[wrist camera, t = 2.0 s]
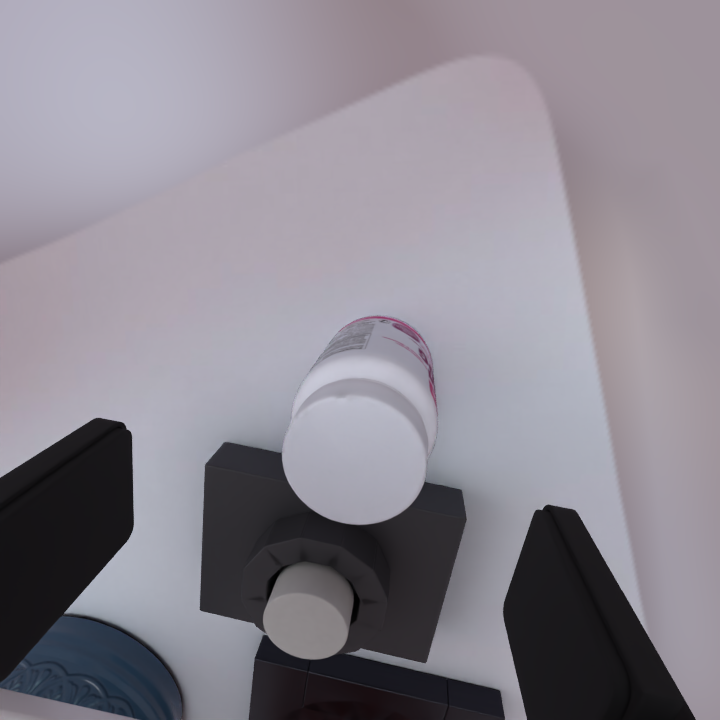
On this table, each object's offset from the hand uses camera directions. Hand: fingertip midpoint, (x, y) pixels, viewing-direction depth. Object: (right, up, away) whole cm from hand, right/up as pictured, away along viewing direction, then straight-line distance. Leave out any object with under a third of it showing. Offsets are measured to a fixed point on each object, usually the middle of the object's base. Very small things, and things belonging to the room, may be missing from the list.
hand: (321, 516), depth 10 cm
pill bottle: (+2, +3, +10) cm, 11 cm away
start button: (-1, -7, +10) cm, 12 cm away
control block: (-1, -6, +13) cm, 14 cm away
